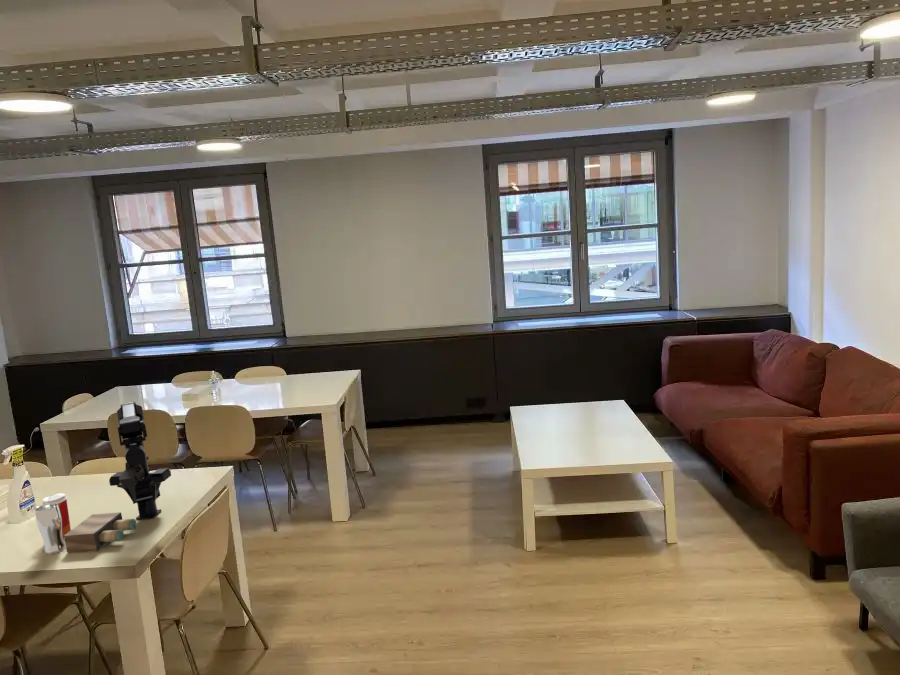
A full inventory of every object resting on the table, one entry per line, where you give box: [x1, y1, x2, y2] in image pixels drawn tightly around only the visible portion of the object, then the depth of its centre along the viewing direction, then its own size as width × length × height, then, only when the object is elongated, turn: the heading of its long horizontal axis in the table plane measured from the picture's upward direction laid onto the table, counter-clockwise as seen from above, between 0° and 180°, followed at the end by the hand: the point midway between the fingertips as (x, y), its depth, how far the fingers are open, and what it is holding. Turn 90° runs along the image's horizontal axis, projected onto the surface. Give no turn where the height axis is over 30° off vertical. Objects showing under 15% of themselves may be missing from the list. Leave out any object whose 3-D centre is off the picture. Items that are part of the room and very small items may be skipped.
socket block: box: [63, 511, 123, 554], centre depth 226 cm, size 16×10×6 cm, turn 176°
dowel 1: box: [98, 530, 125, 543], centre depth 222 cm, size 4×9×4 cm, turn 86°
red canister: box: [41, 492, 72, 539], centre depth 233 cm, size 8×8×14 cm
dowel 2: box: [112, 518, 137, 532], centre depth 230 cm, size 4×9×4 cm, turn 86°
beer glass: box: [34, 503, 66, 555], centre depth 221 cm, size 7×7×15 cm
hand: (144, 501), depth 227 cm, fingers open, 7 cm apart
